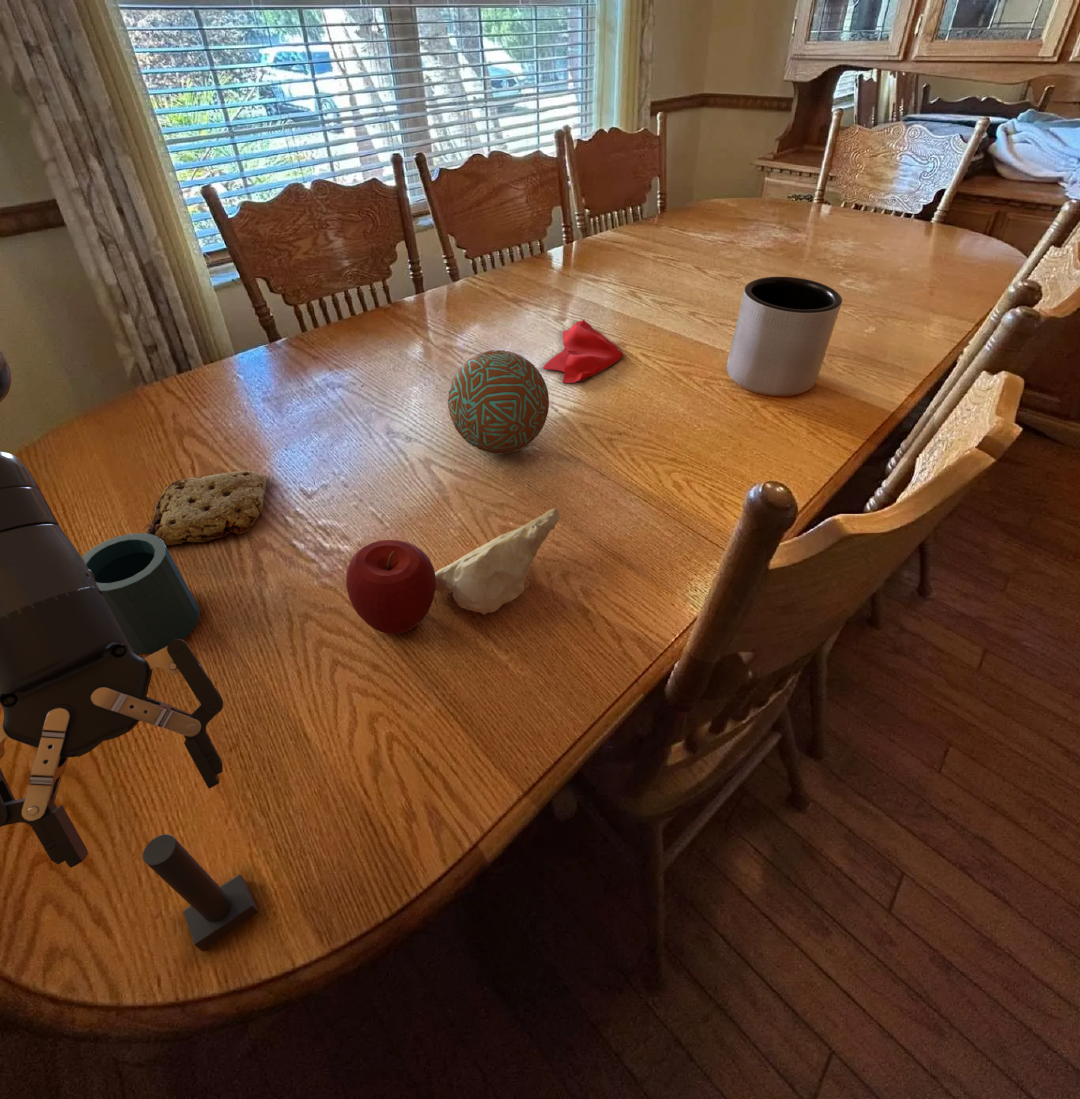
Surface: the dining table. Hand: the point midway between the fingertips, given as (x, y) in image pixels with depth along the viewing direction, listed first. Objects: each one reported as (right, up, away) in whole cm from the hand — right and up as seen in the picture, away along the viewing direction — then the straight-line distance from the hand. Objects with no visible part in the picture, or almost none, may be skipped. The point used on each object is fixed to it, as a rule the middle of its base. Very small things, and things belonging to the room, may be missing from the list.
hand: (150, 820), depth 43 cm
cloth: (+36, +57, +80) cm, 104 cm away
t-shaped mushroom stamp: (+1, -11, +7) cm, 13 cm away
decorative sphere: (+20, +35, +56) cm, 69 cm away
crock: (-17, +10, +29) cm, 35 cm away
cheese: (+22, +15, +35) cm, 44 cm away
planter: (+69, +50, +73) cm, 112 cm away
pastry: (-19, +24, +44) cm, 53 cm away
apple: (+10, +10, +30) cm, 33 cm away
